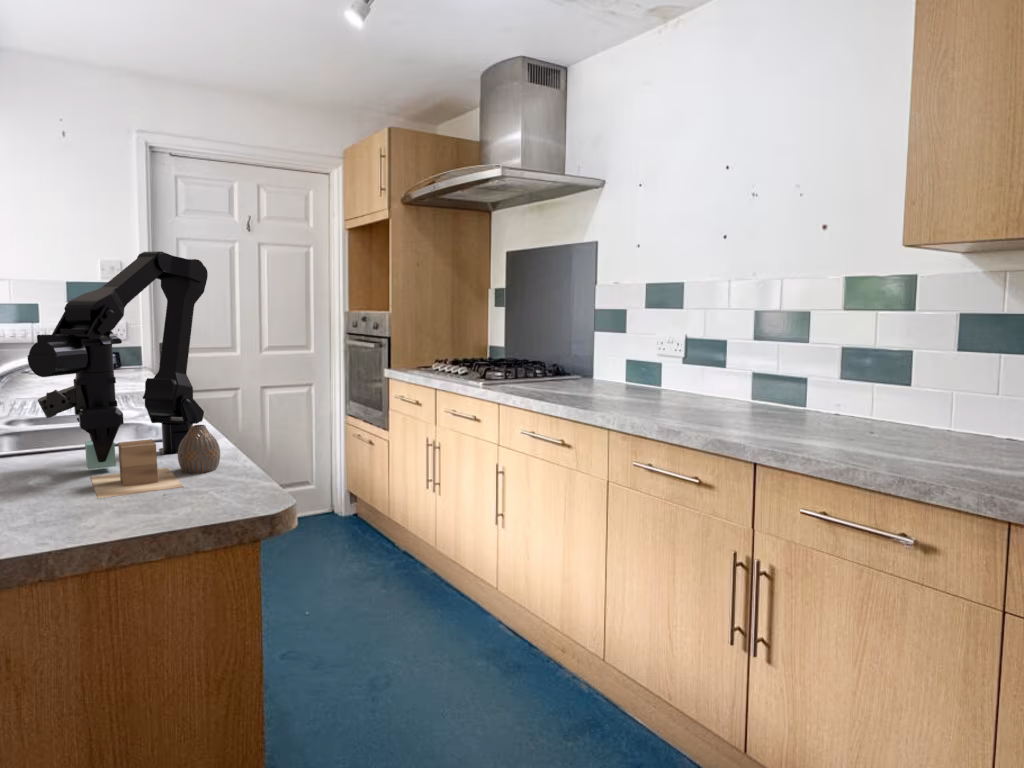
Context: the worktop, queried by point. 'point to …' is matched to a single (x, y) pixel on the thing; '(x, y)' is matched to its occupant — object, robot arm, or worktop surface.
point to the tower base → (138, 474)
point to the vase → (198, 451)
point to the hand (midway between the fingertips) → (100, 459)
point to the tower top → (137, 453)
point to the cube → (92, 458)
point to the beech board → (114, 486)
